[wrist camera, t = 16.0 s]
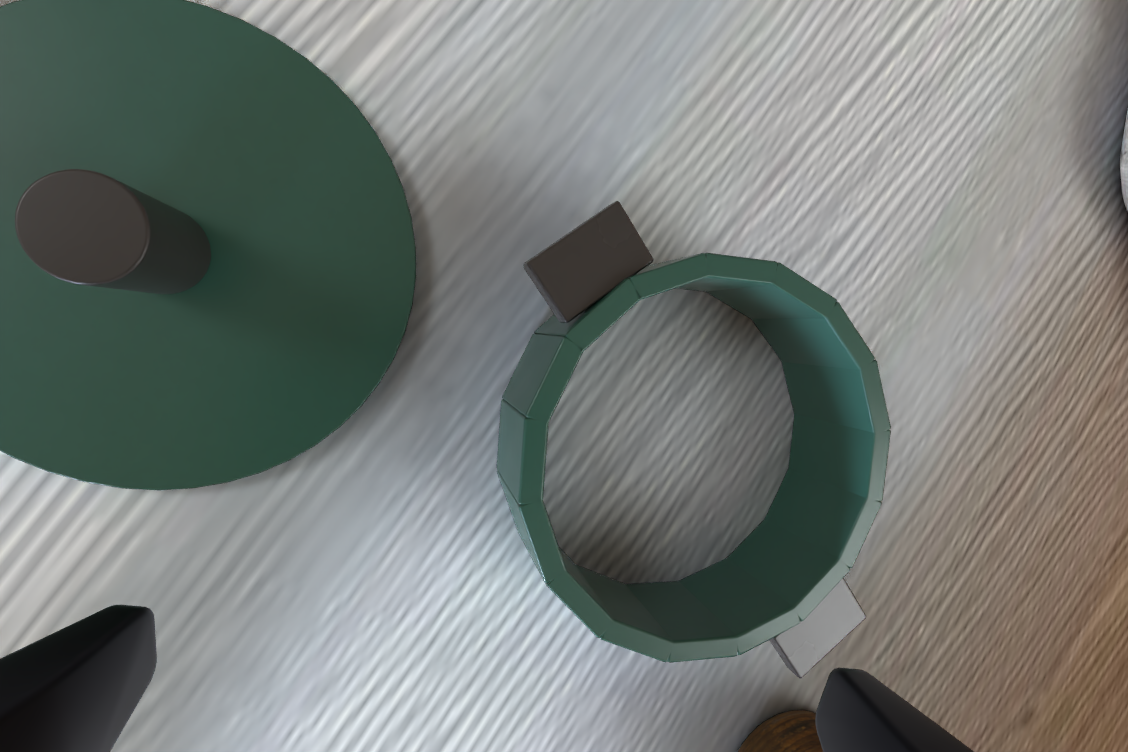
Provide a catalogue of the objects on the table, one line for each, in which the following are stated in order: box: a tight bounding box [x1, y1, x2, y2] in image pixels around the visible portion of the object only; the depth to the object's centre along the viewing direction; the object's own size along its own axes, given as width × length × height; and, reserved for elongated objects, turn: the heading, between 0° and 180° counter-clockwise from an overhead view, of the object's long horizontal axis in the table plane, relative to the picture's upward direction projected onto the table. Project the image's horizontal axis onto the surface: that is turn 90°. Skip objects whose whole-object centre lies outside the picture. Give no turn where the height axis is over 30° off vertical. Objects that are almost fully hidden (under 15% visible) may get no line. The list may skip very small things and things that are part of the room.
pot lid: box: [0, 0, 416, 490], centre depth 14 cm, size 14×14×4 cm
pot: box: [497, 201, 891, 678], centre depth 19 cm, size 13×15×4 cm
